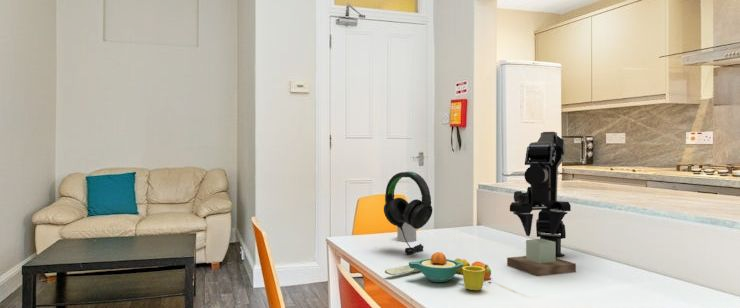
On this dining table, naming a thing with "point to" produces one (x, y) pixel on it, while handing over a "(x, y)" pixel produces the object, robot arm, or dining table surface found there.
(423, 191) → the headset
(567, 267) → the walnut plinth
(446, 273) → the toy juicer set
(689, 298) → the dining table surface
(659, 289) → the dining table surface
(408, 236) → the grey block
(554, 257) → the sage block
